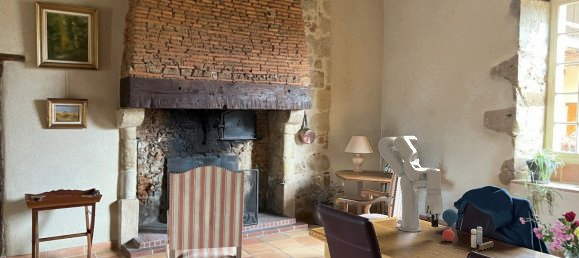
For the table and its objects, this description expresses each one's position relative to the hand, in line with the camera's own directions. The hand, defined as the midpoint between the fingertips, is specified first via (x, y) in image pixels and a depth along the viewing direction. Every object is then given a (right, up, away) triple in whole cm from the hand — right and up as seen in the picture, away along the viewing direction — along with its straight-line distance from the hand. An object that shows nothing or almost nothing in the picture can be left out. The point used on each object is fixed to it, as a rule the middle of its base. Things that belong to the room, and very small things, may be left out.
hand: (435, 226), depth 237 cm
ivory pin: (+13, -6, -17) cm, 23 cm away
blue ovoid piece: (+14, -6, +17) cm, 23 cm away
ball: (+5, -3, -6) cm, 8 cm away
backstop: (+18, -6, -20) cm, 28 cm away
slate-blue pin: (+18, -6, -12) cm, 23 cm away
